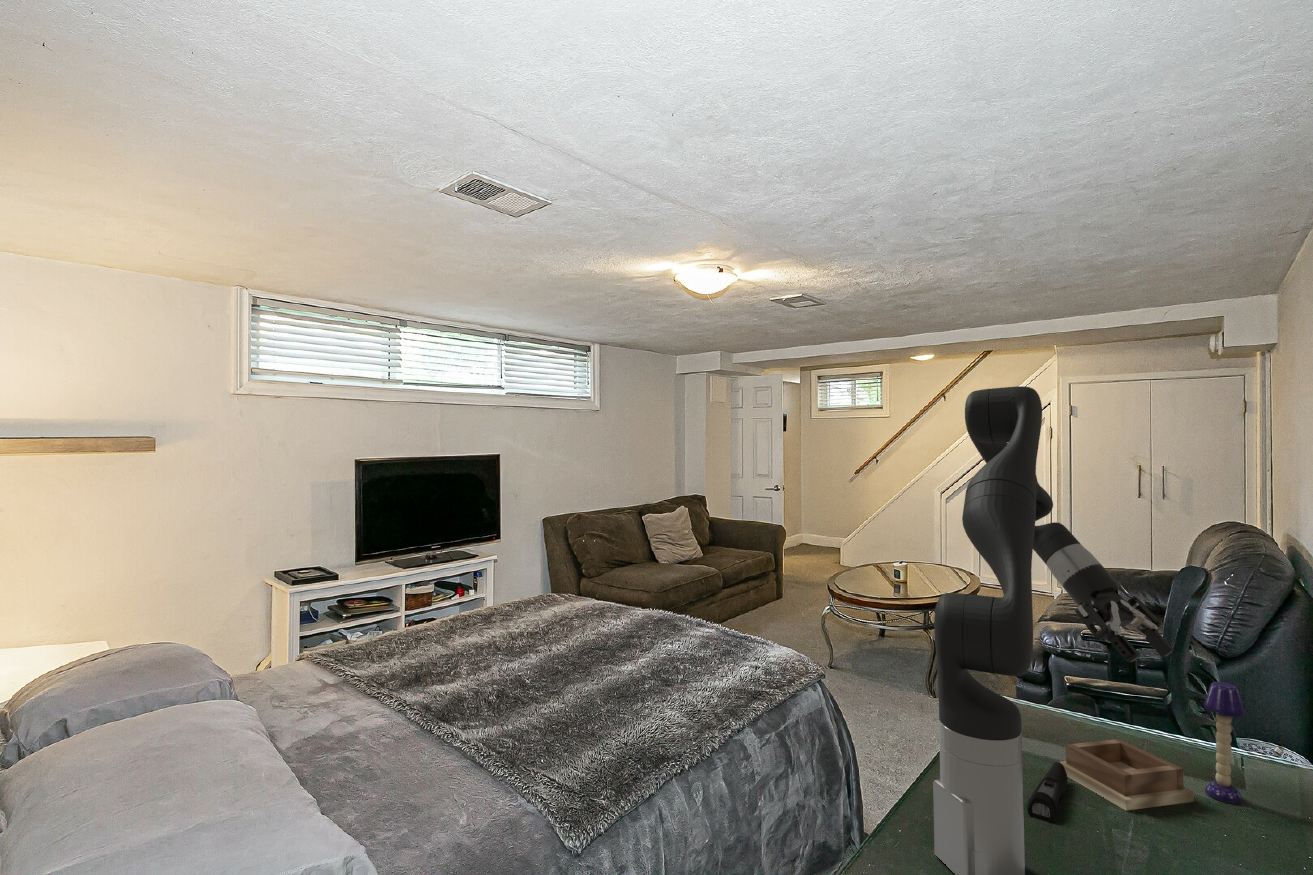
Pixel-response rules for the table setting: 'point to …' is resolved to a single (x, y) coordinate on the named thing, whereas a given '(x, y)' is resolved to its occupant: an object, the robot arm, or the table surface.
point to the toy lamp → (1224, 738)
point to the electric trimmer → (1048, 794)
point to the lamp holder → (1126, 774)
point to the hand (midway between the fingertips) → (1151, 656)
